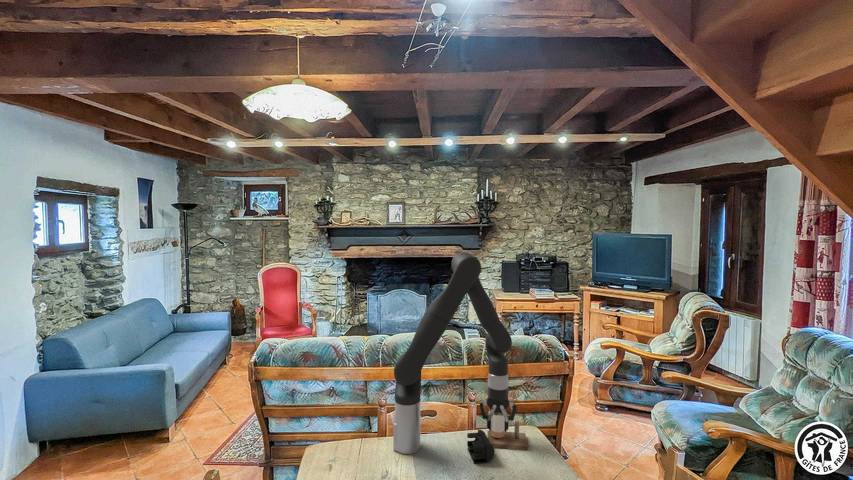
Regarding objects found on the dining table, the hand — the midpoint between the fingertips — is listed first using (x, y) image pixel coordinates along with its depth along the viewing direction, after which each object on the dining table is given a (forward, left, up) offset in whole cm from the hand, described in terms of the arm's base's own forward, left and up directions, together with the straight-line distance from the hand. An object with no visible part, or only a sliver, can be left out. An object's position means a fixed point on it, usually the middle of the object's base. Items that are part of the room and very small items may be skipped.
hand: (497, 429), depth 145 cm
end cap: (-6, -10, -4) cm, 13 cm away
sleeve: (0, 0, -2) cm, 2 cm away
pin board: (+4, 0, -4) cm, 5 cm away
